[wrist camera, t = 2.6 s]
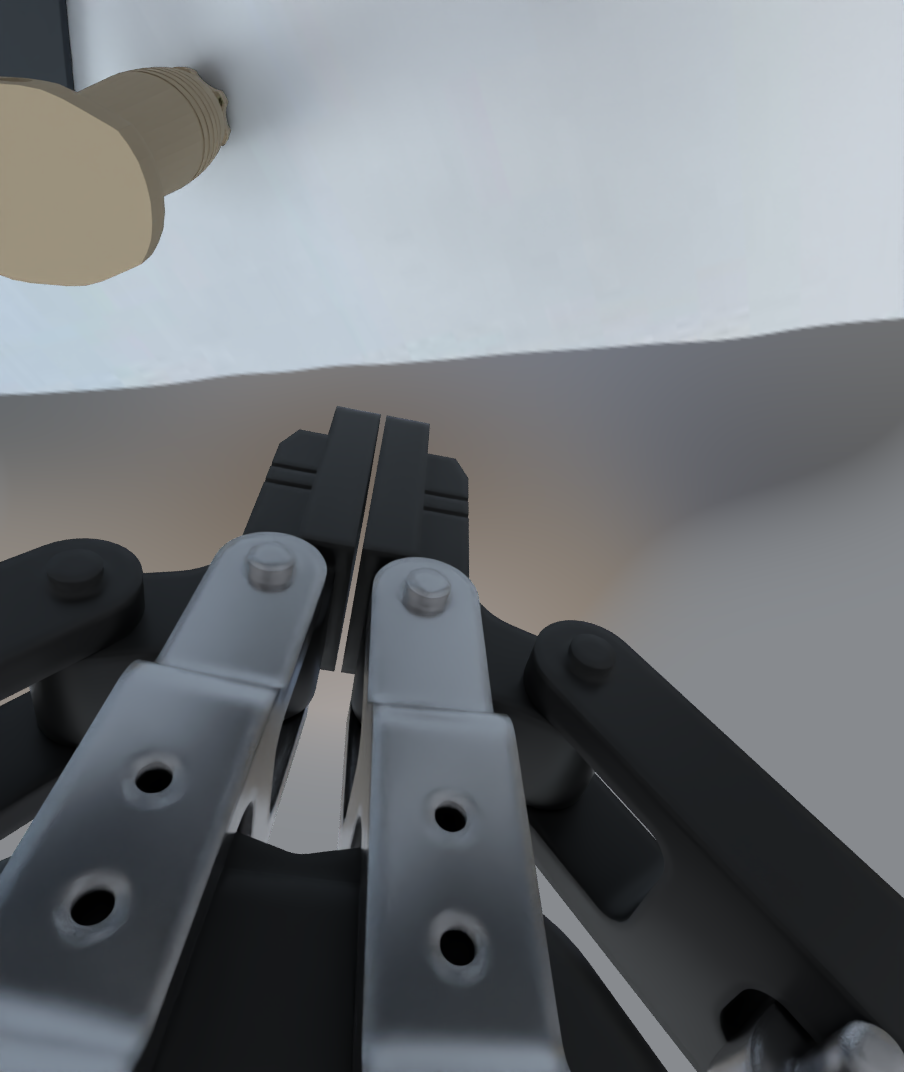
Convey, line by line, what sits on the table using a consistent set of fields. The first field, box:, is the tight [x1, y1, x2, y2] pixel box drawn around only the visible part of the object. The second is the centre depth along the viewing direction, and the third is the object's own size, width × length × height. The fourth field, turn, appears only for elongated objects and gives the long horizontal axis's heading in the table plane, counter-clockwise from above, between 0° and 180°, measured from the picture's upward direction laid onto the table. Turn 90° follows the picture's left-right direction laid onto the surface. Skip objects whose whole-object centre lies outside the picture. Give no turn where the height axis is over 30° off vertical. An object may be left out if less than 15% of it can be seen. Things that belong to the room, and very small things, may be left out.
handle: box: [0, 67, 231, 286], centre depth 25 cm, size 5×6×15 cm
